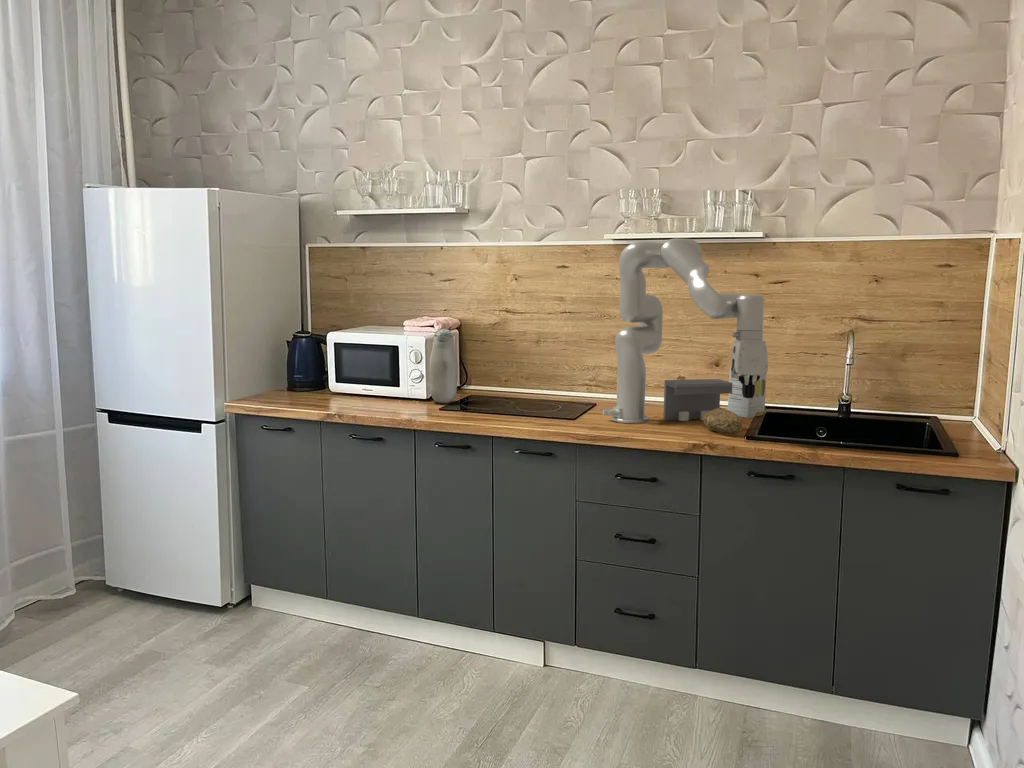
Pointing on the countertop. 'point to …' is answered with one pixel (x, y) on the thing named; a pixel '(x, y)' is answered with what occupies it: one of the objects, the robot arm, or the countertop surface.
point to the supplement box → (746, 405)
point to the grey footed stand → (692, 397)
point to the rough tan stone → (723, 421)
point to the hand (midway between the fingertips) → (747, 397)
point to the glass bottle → (443, 367)
